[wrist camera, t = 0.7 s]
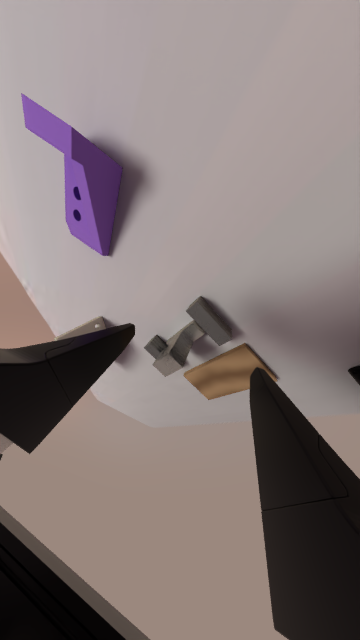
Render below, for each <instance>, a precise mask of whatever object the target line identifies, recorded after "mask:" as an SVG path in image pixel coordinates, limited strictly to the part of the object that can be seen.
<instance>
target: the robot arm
mask: <svg viewBox="0 0 360 640" xmlns="http://www.w3.org/2000/svg"><path fill="white" fill-rule="evenodd" d="M134 335H135V325H134V324H131V323H128V324H124V325H120V326H116V327H112V328H108V329H104V330H99V331H95V332H91V333H87V334H83V335H79V336H75V337H71V338H66V339H62V340H57V341H52V342H47V343H42V344H37V345H32V346H27V347H21V348H14V349H0V460H1V457H2V454H1V453H2V452H3V451H4V450H6V449H7V448H8V447H9V446H10V445H11V444H12V443H15V444H16V445H17V446H19V447H20V448H22V449H23V450H25V451H26V452H28V453H29V454H30V453H31V452H32V451H33V450H34V449H35V448H36V447H37V446H38V445H39V444H40V443H41V442H42V440H43V439H44V438H45V437H46V436H47V435H48V434H49V433H50V432H51V430H52V429H53V428H54V427H55V426H56V425H57V424H58V423H59V422H60V421H61V419H62V418H63V417H64V416H65V415H66V414H67V413H68V412H69V411H70V410H71V408H72V407H73V406H74V405H75V404H76V403H77V402H78V400H79V399H80V398H81V397H82V396H83V395H84V394H85V393H86V392H87V390H88V389H89V388H90V387H91V386H92V385H93V384H94V383H95V382H96V381H97V379H98V378H99V377H100V376H101V375H102V374H103V373H104V372H105V371H106V369H107V368H108V367H109V366H110V365H111V364H112V363H113V362H114V361H115V360H116V358H117V357H118V356H119V355H120V354H121V353H122V352H123V350H124V349H125V348H126V346H127V345H128V344H129V342H130V341H131V340H132V338H133V337H134ZM348 372H349V373H350V374H351V375H352V377H353V378H354V379H355V380H356V381H357V383H358V384H359V385H360V366H358V367H354V368H351V369H349V370H348ZM250 409H251V419H252V428H253V436H254V446H255V456H256V465H257V474H258V484H259V493H260V502H261V510H262V512H261V513H262V522H263V531H264V541H265V550H266V559H267V569H268V578H269V587H270V596H271V604H272V605H271V606H272V614H273V622H274V628H275V630H276V631H278V632H279V633H280V634H282V635H283V636H284V637H286V638H287V639H289V640H360V479H359V478H358V477H357V476H356V475H355V474H354V472H353V471H352V470H351V469H350V468H349V467H348V466H347V465H346V464H345V463H344V462H343V461H342V459H341V458H340V457H339V456H338V455H337V454H336V452H335V451H334V450H333V449H332V448H331V447H330V446H329V445H328V443H327V442H326V441H325V440H324V439H323V437H322V436H321V435H319V433H318V432H317V431H316V429H315V428H314V427H313V426H312V425H311V423H310V422H309V421H308V420H307V419H306V418H305V416H304V415H303V414H302V413H301V412H300V411H299V409H298V408H297V407H296V406H295V405H294V404H293V402H292V401H291V400H290V399H289V398H288V397H287V395H286V394H285V393H284V392H283V391H282V390H281V388H280V387H279V386H278V385H277V384H276V383H275V381H274V380H273V379H272V378H271V377H270V376H269V374H268V373H267V372H266V371H265V370H264V369H262V368H259V367H256V368H255V369H254V371H253V372H252V374H251V375H250ZM0 640H150V639H149V638H148V637H147V636H146V635H144V634H143V633H142V632H141V631H140V630H139V629H138V628H137V627H135V626H134V625H133V624H132V623H131V622H130V621H129V620H128V619H127V618H125V617H124V616H123V615H122V614H121V613H120V612H119V611H118V610H116V609H115V608H114V607H113V606H112V605H111V604H110V603H108V601H106V600H105V599H104V598H103V597H102V596H101V595H100V594H98V593H97V592H96V591H95V590H94V589H93V588H92V587H91V586H89V585H88V584H87V583H86V582H85V581H84V580H83V579H82V578H81V577H79V576H78V575H77V574H76V573H75V572H74V571H73V570H72V569H71V568H69V567H68V566H67V565H66V564H65V563H64V562H63V561H62V560H60V559H59V558H58V557H57V556H56V555H55V554H54V553H53V552H51V551H50V550H49V549H48V548H47V547H46V546H44V544H42V543H41V542H40V541H39V540H38V539H37V538H36V537H34V535H32V534H31V533H30V532H29V531H28V530H27V529H26V528H24V527H23V526H22V525H21V524H20V523H19V522H18V521H17V520H16V519H14V518H13V517H12V516H11V515H10V514H9V513H7V511H5V510H4V509H3V508H2V507H1V506H0Z"/></svg>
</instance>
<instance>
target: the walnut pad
mask: <svg viewBox="0 0 360 640" xmlns="http://www.w3.org/2000/svg"><path fill="white" fill-rule="evenodd" d="M256 367H259V368H262V369H264V370H265V371H266V372H267V373H268V374H269V376H270V377H271V378H272V379H273V380H274V381H275V382H276V381H277V379H276V376H275V375H274V374H273V373H272V372H271V371H270V370H269V369H268V368H267V367H266V366H265V364H264V363H263V362H262V361H261V360H260V359H259V358H258V357H257V356H256V355H255V354H254V352H253V351H252V350H251V349H250V348H249V347H248V346H247V345H246V344H245V343H244V344H242V345H240V346H238V347H236V348H234V349H232V350H230V351H228V352H226V353H223V354H221V355H219V356H217V357H215V358H213V359H211V360H209V361H207V362H205V363H203V364H201V365H199V366H197V367H195V368H193V369H191V370H189V371H187V372H185V373H184V377H185V378H186V379H187V380H188V381H189V382H190V383H191V384H193V385H194V386H195V387H196V388H197V389H198V390H199V391H200V392H201V393H202V394H203V395H204V396H205V397H206V398H207V399H208V400H211V399H214V398H218V397H221V396H225V395H229V394H232V393H236V392H240V391H243V390H247V389H250V375H251V374H252V372H253V371H254V369H255V368H256Z"/></svg>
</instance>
